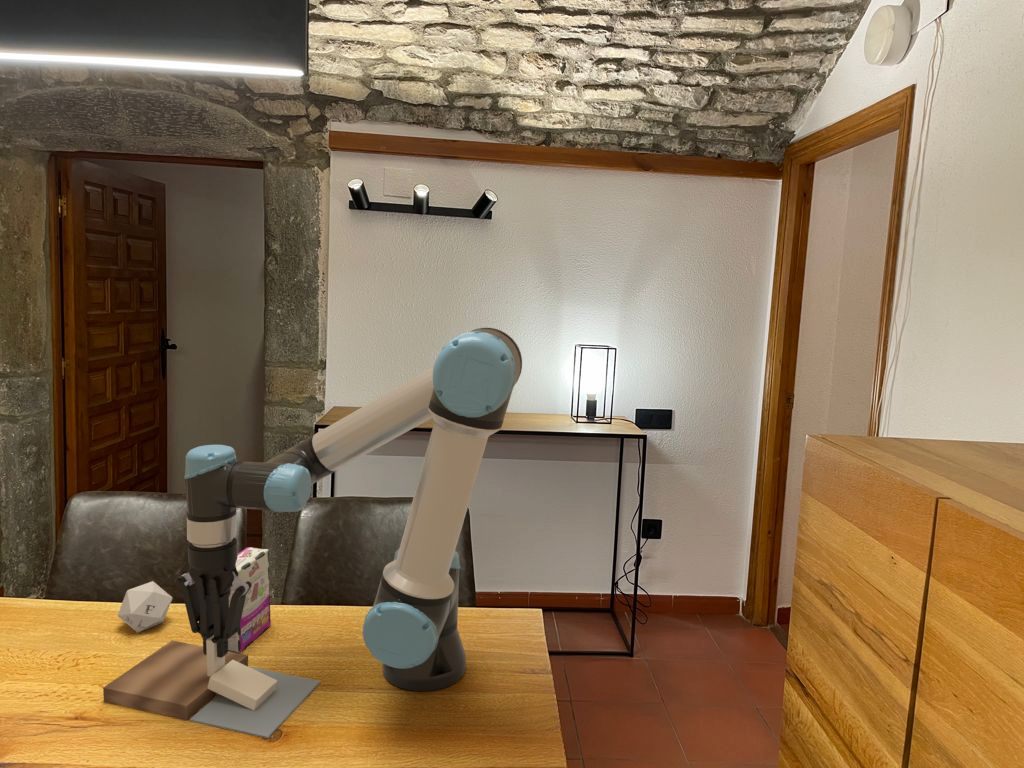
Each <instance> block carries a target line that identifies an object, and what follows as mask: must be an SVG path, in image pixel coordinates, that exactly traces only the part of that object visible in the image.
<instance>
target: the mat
mask: <svg viewBox="0 0 1024 768" xmlns="http://www.w3.org/2000/svg"><path fill="white" fill-rule="evenodd" d="M250 668H252V669H254V670H256V671H258V672H260V673H263V674H265V675H267V676H269V677H271V678H273V679H275V680H277V684H276V688H275V691H274V692H273V693H272V694H271V695H270V696H269V697H268V698H267V699H266V700H265V701H264V702H262V703H261V704H260V705H259V706H258V707H257V708H256V709H255V710H252V709H249V708H247V707H245V706H243V705H241V704H239V703H237V702H235V701H233V700H231V699H229V698H226V697H224V696H222V695H220V694H217V695H216V696H215V697H214V698H213V699H211V700H210V701H209V702H208V703H207V704H206V705H205V706H203V707H202V708H201V709H200V710H199V711H198V712H196V713H195V714H194V715H193V716H192V717H191V718H189V721H190V722H193V723H198V724H200V725H205V726H211V727H216V728H220V729H225V730H229V731H233V732H237V733H241V734H247V735H250V736H256V737H260V738H264V739H269V738H271V736H272V735H273V734H274V733H275V732H276V731H277V729H279V727H280V726H282V724H283V723H284V722H285V721H286V720H287V719H288V717H290V716H291V714H293V712H295V710H296V709H297V708H298V707H299V706H300V705H301V704H302V703H303V702H304V701H305V700H306V699H307V698H308V696H309V695H310V694H311V693H312V692H313V691H314V690H315V689H316V688H317V687H318V686H319V685H320V684H321V680H318V679H313V678H307V677H304V676H303V677H302V676H297V675H294V674H287V673H283V672H278V671H273V670H267V669H263V668H257V667H252V666H250Z"/></svg>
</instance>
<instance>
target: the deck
mask: <svg viewBox="0 0 1024 768" xmlns="http://www.w3.org/2000/svg"><path fill="white" fill-rule="evenodd" d="M231 660H235V661H237V662H239V663H241V664H243V665H245V666H247V667H249V654H244V653H237V652H231V651H228V653H227V654H226V655H225V665H226V664H228V663H229V662H230V661H231ZM209 679H210V676H207V655H204V652H203V645H196V644H194V643H193V644H192V643H187V642H182V641H177V640H170V641H169V642H168V643H166V644H165V645H163V646H161V647H160V648H159V649H158V650H156V651H155V652H153V653H152V654H150V655H149V656H147V657H146V658H144V659H142V660H141V661H140V662H139V663H136V665H133V667H131V668H129V669H128V670H126V671H125V672H124V673H122V674H121V675H119V676H117V678H115V679H113V680H112V681H111V682H109V683H108V684H105V686H104V687H102V688H103V689H102V690H103V691H102V692H103V693H102V694H103V702H104V703H108V704H114V705H117V706H122V707H126V708H131V709H136V710H139V711H144V712H148V713H153V714H157V715H161V716H166V717H171V718H175V719H180V720H183V721H184V720H185V721H188V720H190V719H191V718H192V717H193V716H194V715H195V714H197V713H198V712H199V711H200V710H201V709H202V708H203V707H205V706H206V705H207V704H208V703H209V702H210V701H212V700H213V699H214V698H215V697H216V696H217V695H219V694H218V693H216V692H214V691H212V690H210V689H208V683H209Z"/></svg>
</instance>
